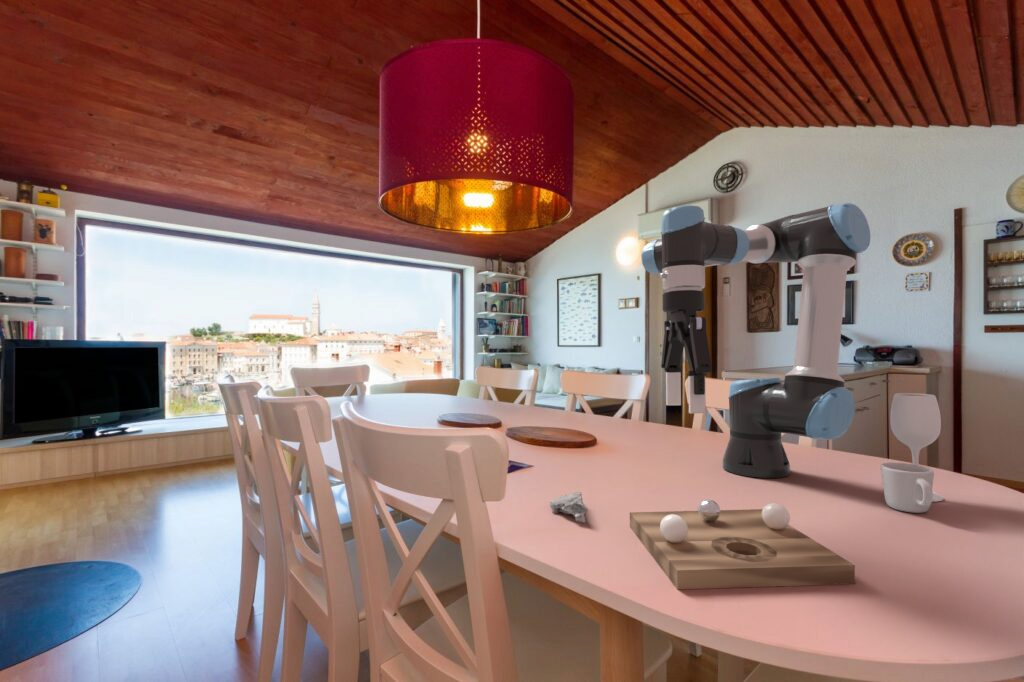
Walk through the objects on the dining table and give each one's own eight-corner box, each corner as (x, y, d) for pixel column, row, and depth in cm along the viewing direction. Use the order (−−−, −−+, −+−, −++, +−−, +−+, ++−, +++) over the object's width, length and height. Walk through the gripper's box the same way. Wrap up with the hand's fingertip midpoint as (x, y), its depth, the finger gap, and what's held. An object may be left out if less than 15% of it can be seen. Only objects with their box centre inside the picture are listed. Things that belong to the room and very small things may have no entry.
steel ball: (694, 517, 83) (694, 496, 83) (714, 517, 83) (714, 496, 83) (703, 525, 80) (703, 503, 80) (724, 524, 80) (724, 503, 80)
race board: (629, 526, 86) (629, 512, 86) (763, 523, 87) (762, 509, 87) (677, 589, 64) (677, 570, 64) (855, 583, 65) (854, 564, 65)
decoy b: (656, 536, 75) (656, 510, 75) (682, 536, 75) (681, 510, 75) (665, 547, 71) (665, 520, 71) (692, 547, 71) (692, 519, 71)
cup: (955, 523, 86) (955, 477, 86) (904, 520, 88) (903, 475, 88) (918, 503, 97) (917, 463, 97) (872, 501, 98) (872, 461, 98)
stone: (552, 527, 87) (552, 504, 87) (548, 502, 100) (548, 482, 99) (588, 527, 87) (588, 504, 87) (580, 503, 99) (580, 483, 99)
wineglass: (893, 486, 108) (891, 391, 108) (945, 495, 102) (944, 394, 102) (886, 495, 102) (884, 394, 102) (941, 505, 96) (940, 397, 96)
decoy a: (756, 524, 80) (756, 499, 80) (780, 523, 80) (780, 499, 80) (770, 533, 76) (770, 508, 76) (795, 533, 76) (795, 507, 76)
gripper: (644, 296, 103) (645, 401, 103) (688, 283, 80) (689, 418, 80) (679, 296, 103) (680, 401, 103) (733, 283, 80) (734, 417, 80)
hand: (684, 408), depth 92 cm, fingers open, 10 cm apart
